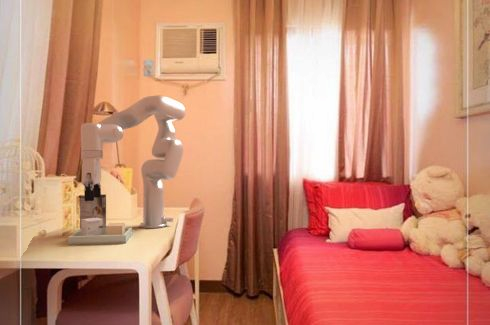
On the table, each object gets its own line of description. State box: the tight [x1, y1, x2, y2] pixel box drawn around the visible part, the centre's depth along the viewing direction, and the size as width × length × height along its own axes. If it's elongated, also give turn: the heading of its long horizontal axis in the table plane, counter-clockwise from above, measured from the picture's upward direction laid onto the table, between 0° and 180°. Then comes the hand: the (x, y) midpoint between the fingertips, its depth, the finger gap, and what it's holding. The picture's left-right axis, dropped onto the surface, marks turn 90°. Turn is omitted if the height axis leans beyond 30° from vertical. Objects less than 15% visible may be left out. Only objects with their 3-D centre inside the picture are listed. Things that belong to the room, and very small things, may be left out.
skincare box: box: [81, 218, 103, 236], centre depth 126 cm, size 6×6×7 cm
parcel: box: [106, 222, 126, 235], centre depth 127 cm, size 6×6×5 cm
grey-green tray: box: [67, 227, 133, 246], centre depth 126 cm, size 20×14×3 cm
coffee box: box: [79, 193, 107, 230], centre depth 139 cm, size 9×6×16 cm
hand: (93, 199), depth 126 cm, fingers open, 9 cm apart
